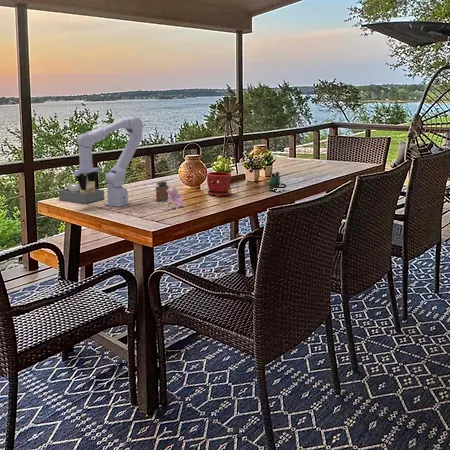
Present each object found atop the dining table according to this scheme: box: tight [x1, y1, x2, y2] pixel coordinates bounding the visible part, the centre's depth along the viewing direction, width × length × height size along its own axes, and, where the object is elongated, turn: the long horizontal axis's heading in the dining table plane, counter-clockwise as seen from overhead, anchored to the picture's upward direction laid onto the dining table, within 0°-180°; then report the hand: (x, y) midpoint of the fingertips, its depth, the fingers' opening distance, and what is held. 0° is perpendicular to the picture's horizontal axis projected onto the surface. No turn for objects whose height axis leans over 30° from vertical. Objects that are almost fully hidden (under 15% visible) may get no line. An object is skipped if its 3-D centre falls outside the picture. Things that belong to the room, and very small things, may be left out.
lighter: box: [155, 180, 170, 203], centre depth 263 cm, size 8×3×10 cm, turn 141°
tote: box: [58, 186, 105, 205], centre depth 262 cm, size 18×14×5 cm
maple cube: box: [79, 179, 96, 193], centre depth 244 cm, size 5×5×5 cm
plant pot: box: [206, 171, 232, 197], centre depth 280 cm, size 13×13×12 cm
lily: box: [166, 185, 187, 210], centre depth 250 cm, size 12×12×10 cm
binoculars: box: [268, 171, 287, 190], centre depth 294 cm, size 9×11×10 cm
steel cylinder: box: [68, 183, 80, 193], centre depth 262 cm, size 5×5×7 cm
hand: (87, 189), depth 244 cm, fingers closed on maple cube, 5 cm apart
